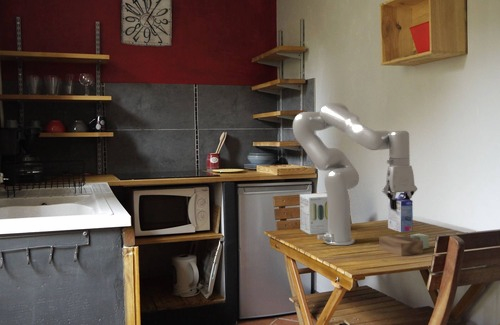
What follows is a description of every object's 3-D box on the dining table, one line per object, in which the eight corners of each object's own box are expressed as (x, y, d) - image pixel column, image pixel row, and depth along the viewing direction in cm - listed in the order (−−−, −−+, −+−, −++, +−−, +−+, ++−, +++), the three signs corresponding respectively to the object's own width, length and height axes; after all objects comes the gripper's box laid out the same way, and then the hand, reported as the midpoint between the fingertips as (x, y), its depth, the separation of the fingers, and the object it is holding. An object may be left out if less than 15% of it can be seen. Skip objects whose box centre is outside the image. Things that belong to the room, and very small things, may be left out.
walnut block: (401, 256, 194) (401, 243, 193) (379, 249, 207) (379, 237, 206) (423, 253, 197) (422, 241, 197) (400, 246, 210) (399, 234, 210)
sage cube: (420, 249, 203) (420, 237, 203) (410, 247, 208) (410, 235, 207) (429, 247, 206) (428, 235, 206) (418, 245, 210) (418, 233, 210)
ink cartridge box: (414, 231, 197) (413, 194, 196) (401, 233, 196) (400, 195, 195) (399, 227, 207) (399, 191, 206) (387, 228, 205) (386, 192, 205)
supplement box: (309, 234, 238) (308, 197, 237) (300, 229, 251) (299, 194, 250) (336, 232, 241) (335, 195, 240) (325, 227, 254) (324, 192, 253)
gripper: (385, 164, 194) (386, 211, 195) (424, 161, 199) (425, 208, 200) (374, 163, 201) (375, 209, 202) (412, 161, 206) (413, 206, 207)
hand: (400, 208), depth 201 cm, fingers closed on ink cartridge box, 5 cm apart
